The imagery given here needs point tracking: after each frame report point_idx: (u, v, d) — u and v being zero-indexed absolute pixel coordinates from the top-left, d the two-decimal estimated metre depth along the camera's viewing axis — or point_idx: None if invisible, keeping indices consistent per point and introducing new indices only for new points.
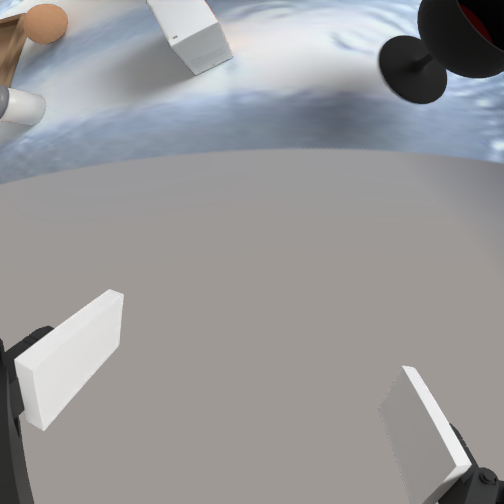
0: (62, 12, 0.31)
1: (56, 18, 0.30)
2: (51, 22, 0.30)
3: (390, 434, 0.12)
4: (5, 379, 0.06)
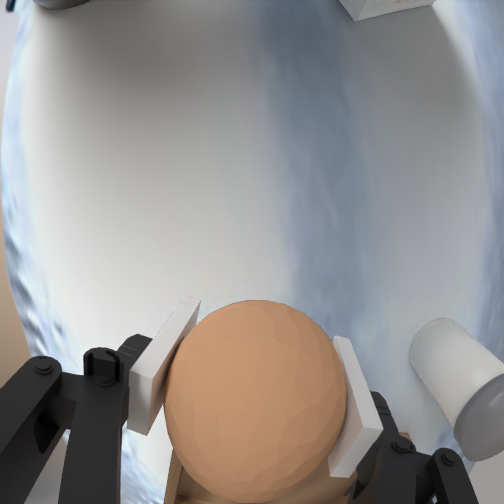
0: (225, 314, 0.11)
1: (274, 331, 0.10)
2: (303, 353, 0.09)
3: None
4: (120, 395, 0.08)
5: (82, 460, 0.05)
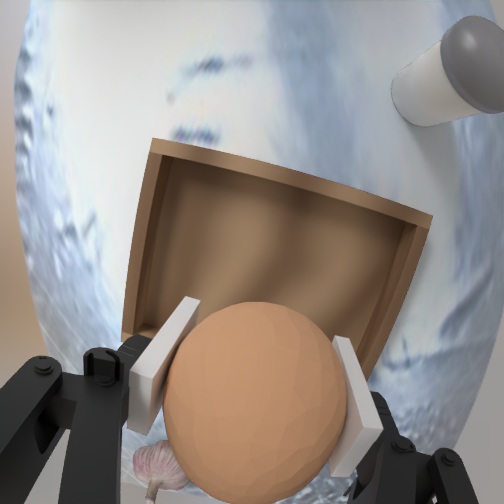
0: (224, 317, 0.11)
1: (274, 334, 0.09)
2: (303, 356, 0.09)
3: None
4: (120, 395, 0.08)
5: (82, 460, 0.05)
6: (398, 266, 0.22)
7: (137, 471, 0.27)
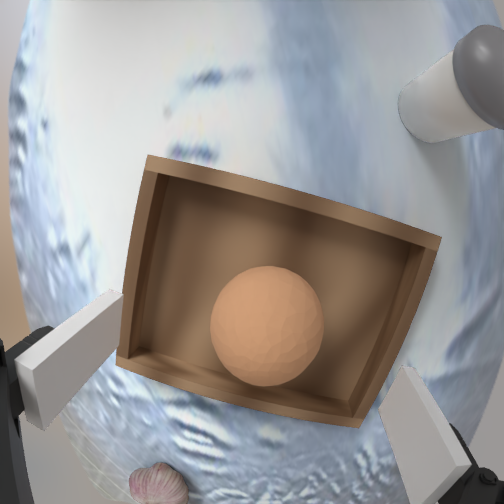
0: (248, 271, 0.18)
1: (278, 276, 0.17)
2: (295, 287, 0.17)
3: (390, 434, 0.12)
4: (5, 379, 0.06)
5: None
6: (405, 290, 0.21)
7: (133, 493, 0.25)
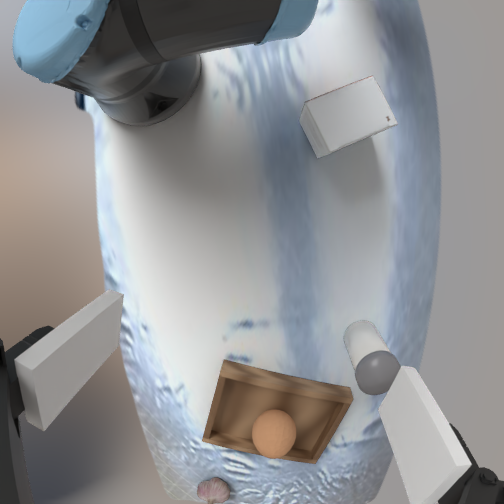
0: (267, 417, 0.42)
1: (278, 423, 0.41)
2: (284, 427, 0.40)
3: (390, 434, 0.12)
4: (5, 379, 0.06)
5: None
6: (335, 414, 0.44)
7: (201, 495, 0.49)
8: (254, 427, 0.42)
